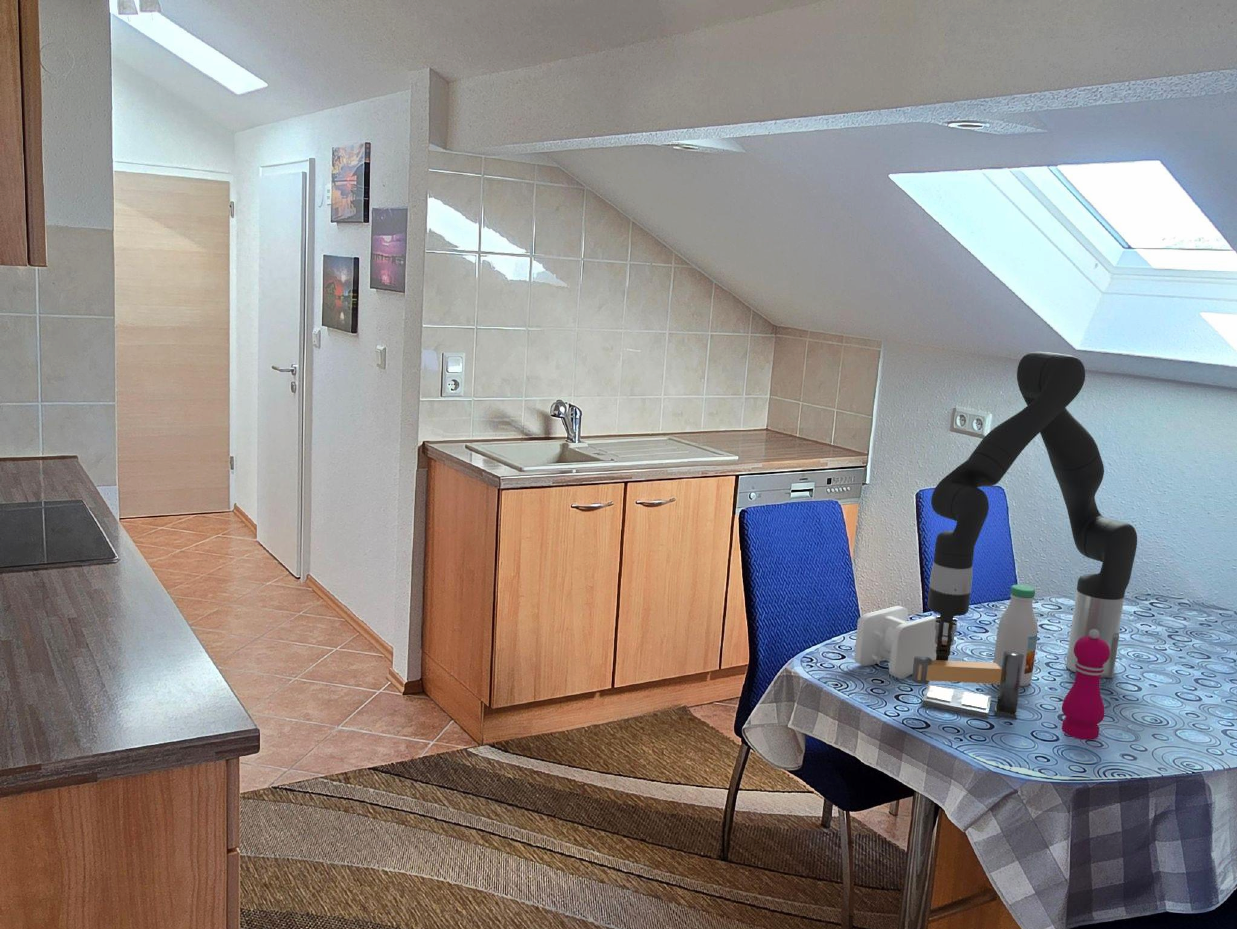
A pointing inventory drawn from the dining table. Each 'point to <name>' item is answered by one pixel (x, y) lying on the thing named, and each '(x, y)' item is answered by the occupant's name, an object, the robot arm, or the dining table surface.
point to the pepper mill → (1086, 689)
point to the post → (1009, 685)
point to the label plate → (957, 701)
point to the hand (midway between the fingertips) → (940, 671)
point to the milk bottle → (1018, 630)
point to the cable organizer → (894, 640)
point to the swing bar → (954, 671)
